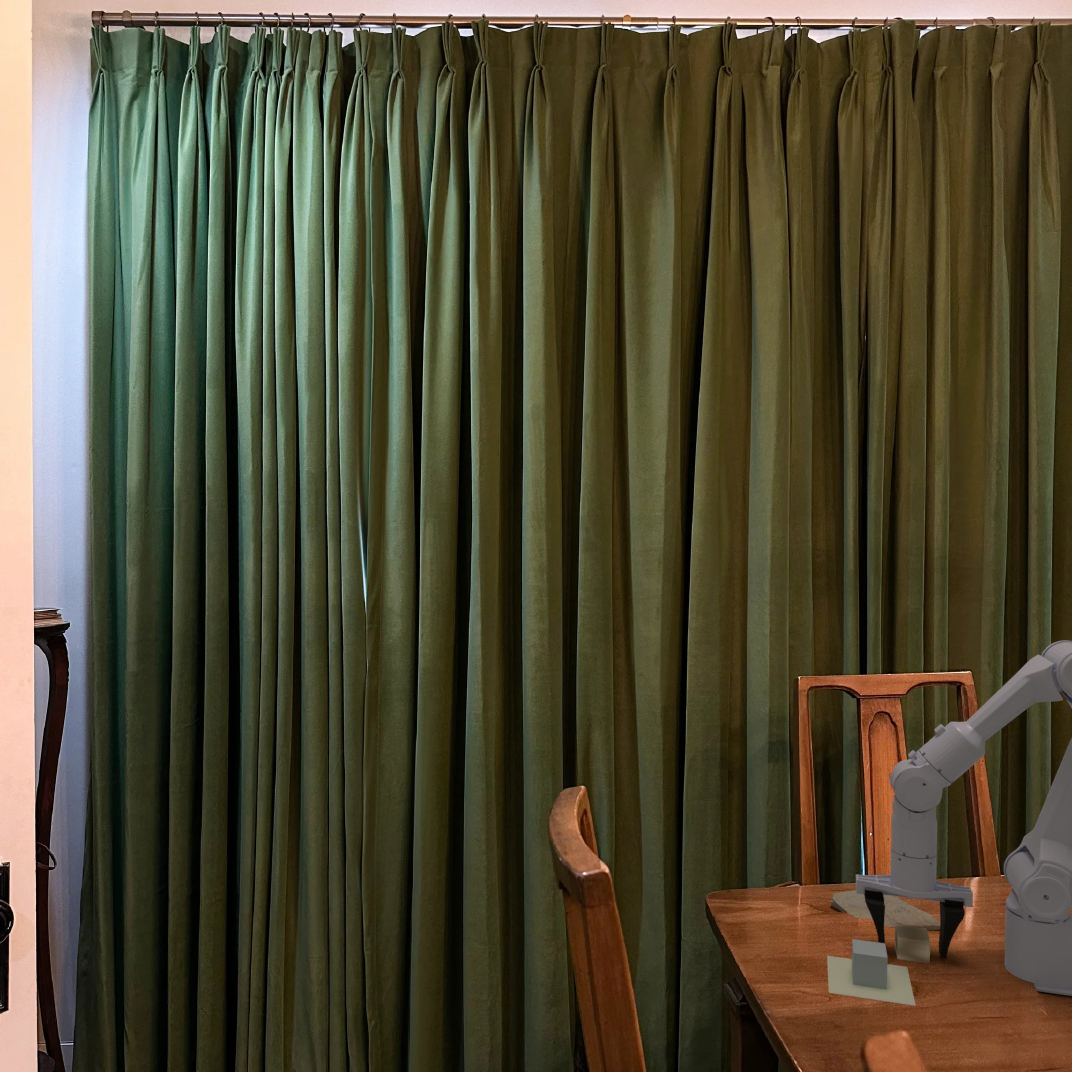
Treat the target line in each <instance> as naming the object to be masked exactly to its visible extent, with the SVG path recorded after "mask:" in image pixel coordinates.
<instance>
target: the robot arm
mask: <svg viewBox="0 0 1072 1072" xmlns="http://www.w3.org/2000/svg"><path fill="white" fill-rule="evenodd" d="M1061 694H1062V695H1063V697H1064V698H1065V700H1066V701H1067V703H1068V704H1069V706H1070V708H1071V709H1072V640H1069V639H1068V640H1066V639H1065V640H1058V641H1055V642H1053V643H1051V644H1049V645H1048V646H1047V647H1046V648H1045V649H1044V650H1043V651H1042V653H1041V655H1040V654H1036V655H1035V656H1033V657H1032V658H1030V659H1029V660H1028V661H1027V662H1026V663H1025V664H1024V665H1023V666H1022V667H1021V668H1020V669H1019V670H1018V671H1017V672H1016V673H1015V674H1014V675H1013V676H1012V677H1011V678H1010V679H1009V680H1008V681H1006V683H1005V684H1004V685H1003V686H1001V687H1000V688H999V689H998V690H997V691H996V692H995V693H994V694H993V695H992V696H991V697H990V698H989V699H988V700H986V702H985V703H984V704H983V705H982V706H981V707H979V709H977V711H976V712H975V713H973V714H972V715H971V716H970V717H969V718H968V719H967V720H966V721H950V722H949V723H948V724H946V725H945V726H944V725H943V724H942V723H940V724H939V725H937V726H936V728H934V731H933V732H935V735H934V736H933V737H932V738H930V739H929V740H928V741H927V742H926V743H924V745H922V746H921V747H920V748H918V750H917V751H915V750H914V749H912V750H911V751H910V752H909V753H908V754H907V755H908V759H903V760H901V761H899V762H898V763H897V764H895V765H894V767H893V768H892V770H891V774H890V775H889V776H888V780H889V783H890V786H891V789H892V790H893V791H894V795H893V801H892V803H891V806H892V808H891V809H892V813H891V815H890V816H891V818H890V819H891V820H890V821H891V823H890V826H891V827H890V830H891V831H890V832H891V833H890V874H880V875H879V874H874V875H873V874H869V875H868V874H865V875H864V874H855V890H856V893H857V894H864V896H865V902H866V905H867V907H868V909H869V912H870V914H871V916H872V919H873V920H872V919H871V920H872V921H873V924H874V927H875V929H876V930H875V931H876V933H877V934H876V935H877V942H878V943H885V944H886V937H885V936H886V935H885V925H884V917H885V904H884V896H883V895H890V896H896V897H898V898H906V899H907V898H908V899H916V900H923V901H933V902H939V917H940V919H939V920H940V921H939V922H940V929H939V934H938V935H939V937H938V953H939V957H940V958H941V959H947V958H948V952H949V947H950V945H951V942H952V939H953V937H954V935H955V932H956V931H957V929H958V927H959V926H960V924H961V923H962V921H963V920H964V919H965V918H964V917H965V916H966V915H965V914H966V913H965V911H966V910H965V908H964V907H966V908H973V907H974V905H973V903H974V893H973V890H972V888H971V887H969V886H961V885H957V884H952V883H948V882H944V881H939V880H937V860H938V858H937V857H938V856H937V855H938V854H937V853H938V851H937V850H938V848H937V845H938V820H937V817H936V816H937V806H938V805H939V804H940V802H941V800H942V797H943V790H944V789H945V788H947V787H949V786H951V785H952V783H954V782H955V781H956V780H957V779H959V778H960V777H961V776H962V775H963V774H965V773H966V772H967V771H968V770H970V768H972V767H973V766H974V765H975V764H977V763H978V762H980V760H981V759H982V758H983V757H984V756H985V755H986V742H987V741H988V740H989V739H990V738H991V737H993V736H994V735H995V734H996V733H997V732H999V731H1001V729H1003V728H1005V726H1007V725H1008V724H1009V723H1011V721H1013V720H1014V719H1016V717H1018V716H1020V715H1021V714H1022V713H1023V712H1024V711H1026V710H1027V709H1028V708H1030V707H1031V706H1033V704H1036V703H1048V702H1049V703H1050V702H1060V701H1061V702H1062V701H1064V698H1063V697H1062V695H1061ZM1003 874H1004V878H1005V879H1006V881H1007V883H1008V884H1009V886H1010V887H1011V891H1010V893H1009V895H1008V897H1007V898H1006V899H1005V917H1004V919H1005V920H1004V968H1005V969H1006V971H1007V972H1009V973H1010V974H1011V975H1012V976H1014V977H1016V978H1017V979H1020V980H1023V981H1025V982H1029V983H1032V984H1033V985H1034V987H1035V989H1036V991H1037V992H1041V993H1042V992H1043V993H1049V994H1056V995H1061V996H1070V997H1072V913H1071V912H1070V911H1071V910H1072V737H1071V739H1070V740H1069V742H1068V745H1067V747H1066V750H1065V752H1064V755H1063V757H1062V760H1061V762H1060V765H1059V767H1058V769H1057V772H1056V774H1055V776H1054V779H1053V781H1052V784H1051V786H1050V789H1049V791H1048V794H1047V796H1046V798H1045V801H1044V804H1043V806H1042V808H1041V811H1040V813H1039V815H1038V817H1037V820H1036V823H1035V825H1034V827H1033V829H1031V830H1030V831H1029V832H1028V833H1027V834H1025V835H1024V836H1023V837H1022V840H1021V843H1020V845H1019V846H1018V847H1017V848H1016V849H1015V850H1013V851H1012V852H1011V853H1010V854H1009V855H1008V856H1007V857H1006V859H1005V860H1004V863H1003Z"/></svg>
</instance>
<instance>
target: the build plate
mask: <svg viewBox="0 0 1072 1072" xmlns="http://www.w3.org/2000/svg"><path fill="white" fill-rule="evenodd" d="M826 959H827V962H826V964H827V985H828V994H834V995H835V994H836V995H841V996H848V997H854V998H860V999H865V1000H873V1001H880V1002H886V1003H894V1004H901V1005H907V1006H914V1007H916V1001H915V997H914V992H913V987H912V983H911V979H910V974H909V969H908V967H907V966H903V965H896V964H891V963H889V964H888V963H887V989H881V988H874V987H867V986H860V985H853V978H852V958H847V957H840V956H838V957H837V956H832V955H826Z"/></svg>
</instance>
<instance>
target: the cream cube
mask: <svg viewBox="0 0 1072 1072" xmlns="http://www.w3.org/2000/svg"><path fill="white" fill-rule="evenodd" d="M894 950H895V954H896V958H897V960H902V961H910V962H915V963H916V962H917V963H924V964H931V962H930V961H931V959H930V958H931V940H930V937H929V934H928V930H927V929H925V928H917V927H909V926H901V925H895V928H894Z"/></svg>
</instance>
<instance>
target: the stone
mask: <svg viewBox="0 0 1072 1072" xmlns="http://www.w3.org/2000/svg"><path fill="white" fill-rule="evenodd" d="M883 896H884V904H885V917H884V927H886V928H890V929H891V928H893V929H895V925H901V926H909V927H917V928H925V929H927V931H938V930H939V931H940V921H939V920H938V919H937V918H936V917H935V916H933V915H932V914H931V913H929V912H926V911H924V910H922V909H919V908H918V907H917V906H914V905H912V904H910V903H908V902H906V901H903V900H902V899H900V897H898V896H890V895H883ZM829 902H830V905H831V907H833V908H834V909H836V911H838V912H840V913H843V914H848V915H849V916H853V918H856V919H866V920H868V919H869V920H872V921H873V919H872V916H871V914H870V912H869V909H868V907H867V905H866V902H865V896H864V894H857V893H856V889H855V890H849V891H848V890H847V891H842V892H833V893H832V897H831V899H830V901H829Z"/></svg>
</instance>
